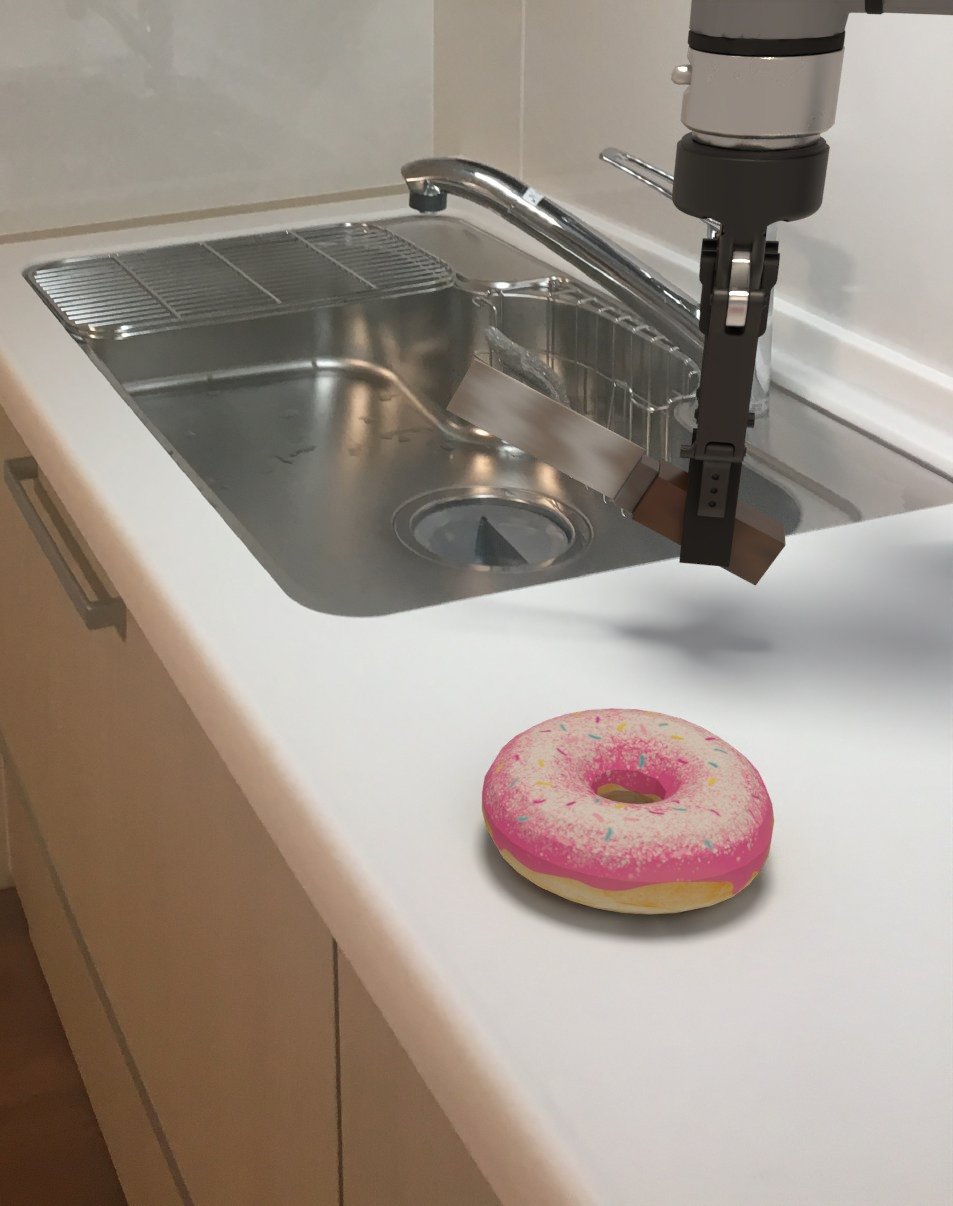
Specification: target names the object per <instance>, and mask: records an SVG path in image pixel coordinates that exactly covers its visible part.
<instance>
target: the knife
mask: <svg viewBox="0 0 953 1206" xmlns="http://www.w3.org/2000/svg"><path fill="white" fill-rule="evenodd" d="M445 410H446V411H447V412H450V413H451V414H453V415H455V416H457V417H459V418H460V419H463V420H464V421H465V422H468V423H470V424H472V425H473V426H476V427H478V428H479V429H481V430H483V431H485V432H487V433H489V434H490V435H493V436H494V437H496V438H498V439H499V440H501V441H503V442H505V443H507V444H508V445H511V446H512V447H514V448H517V449H519V450H520V451H522V452H524V453H526V454H528V455H529V456H531V457H532V458H535V459H537V460H538V461H540V462H542V463H544V464H546V465H548V466H550V467H552V468H554V469H555V470H557V471H559V472H561V473H563V474H565V475H567V476H568V477H570V478H571V479H574V480H576V481H578V482H580V483H582V484H583V485H585V486H587V487H589V488H591V489H592V490H594V491H596V492H598V493H600V494H602V495H604V496H605V497H608V498H609V499H610V500H613V505H615V507H618V508H619V509H622V510H623V511H625V512H627V513H629V514H631V515H630V516H631V517H630V519H631V520H632V521H634V522H636V523H638V524H640V525H641V526H643V527H645V528H647V529H649V530H651V531H653V532H655V533H656V534H658V535H660V536H661V537H664V538H666V539H667V540H670V541H671V542H673V543H676V544H677V545H678V546H681V541H682V532H683V523H684V514H685V505H686V496H687V487H688V478H689V473H688V471H686V470H684V469H682V468H680V467H679V466H676V465H675V464H673V463H671V462H669V461H667V460H665V459H664V458H660V459H659V460H656V459H655V458H653V457H651V456H649V455H647V454H645V453H646V451H647V450H646V448H644V447H643V446H641V445H638V444H637V443H635V442H633V441H631V440H629V439H627V438H626V437H624V436H622V435H621V434H618V433H616V432H614V431H613V430H610V429H609V428H607V427H605V426H603V425H601V424H599V423H598V422H595V421H594V420H593V419H591V418H588V417H586V416H584V415H583V414H581V413H579V412H577V411H575V410H573V409H572V408H570V407H568V406H566V405H564V404H562V403H560V402H558V401H557V400H555V399H553V398H551V397H549V396H547V395H545V394H544V393H542V392H540V391H538V390H536V389H534V388H532V387H530V386H528V385H527V384H525V383H523V382H522V381H519V380H517V379H515V378H514V377H512V376H510V375H508V374H507V373H505V372H502V371H500V370H499V369H497V368H495V367H493V366H491V365H489V364H488V363H486V362H484V361H482V360H480V359H478V358H477V357H474V359H473V361H472V362H471V364H470V366H469V367H468V369H467V371H466V373H465V375H464V376H463V378H462V380H461V381H460V384H459V385H458V387H457V389H456V391H455V392H454V394H453V396H452V397H451V399H450V400H449V402H448V404H447V405H446V408H445ZM786 545H787V544H786V528H785V524H784V523H783V522H782V521H779V520H777V519H775V518H774V517H772V516H770V515H767V514H766V513H764V512H762V511H760V510H759V509H757V508H755V507H754V506H751V505H750V504H748V503H745V502H744V501H742V500H740V499H738V500H737V508H736V516H735V524H734V531H733V539H732V547H731V555H730V563H729V567H722V566H719V567H720V568H722V569H723V570H725V571H727V572H729V573H731V574H732V575H734V576H736V577H738V578H740V579H741V580H744V581H746V582H747V583H750V584H751V585H753V586H755V587H756V586H757V585H758V584H759V582H760V581H761V579H762V578H763V576H764V575H765V574H766V572H767V571H768V570H769V569H770V567H771V566H772V564H773V563H774V562H775V561H776V559H777V558H778V556H779V555H780V554H781V552H782V551H783V550H784V548H785V547H786Z"/></svg>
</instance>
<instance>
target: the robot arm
mask: <svg viewBox="0 0 953 1206" xmlns="http://www.w3.org/2000/svg"><path fill="white" fill-rule="evenodd" d="M690 1H691V2H690V14H689V27H688V28H689V30H688V34H687V44H688V48H687V53H686V58H687V60H688V64H680V65H675V66H674V68H673V69H672V72H671V77H670V79H671V81H672V83H673V84H674V85H678V86H680V85H681V86H682V85H684V86H687V87H685V90H684V91H683V93H682V99H681V112H680V122H681V124H682V125H683V126H684V127H685V128H687V129H688V130H689V131H690V132H686V133H685V134H683V136H681V139H680V140H678V141H677V142H676V149H675V161H674V169H673V181H672V191H671V201H672V203H673V206H674V207H675V208H676V209H677V211H680V212H681V213H683V214H685V215H687V216H690V217H693V218H696V219H700V220H706V219H712V220H714V221H716V222H718V223H719V230H716V231H715V232H714V236H713V237H712V238H711V237H710V238H708V237H707V238H706V237H702V239H701V250H700V259H699V273H698V276H699V277H698V280H699V283H700V284H701V293H700V302H699V317H698V318H699V319H698V329H699V331H700V333H701V334H703V336H704V341H703V350H702V360H701V366H700V367H701V368H700V378H699V386H697V388H696V390H695V398H696V401H697V407H696V409H694V414H693V419H695V425H697V426H696V427H693V428H692V433H691V434H692V435H691V442H690V444H680V452H679V459H680V458H681V459H689V460H688V470H687V472H688V473H689V478H688V487H687V496H686V505H685V514H684V523H683V532H682V541H681V545H680V551H679V559H678V563H680V564H689V565H701V566H712V567H720V566H722V567H729V563H730V555H731V547H732V539H733V531H734V524H735V516H736V508H737V500H739V493H740V492H739V491H740V483H741V476H742V469H743V468H742V467H743V462H744V461H745V460H744V459H745V457H746V456H747V446H746V436H747V430H748V429H754V428H755V423H756V412H750V406H751V399H752V390H753V383H754V375H755V367H756V361H757V352H758V344H759V338H760V337H763V336H764V335H765V333H766V331H767V325H768V319H769V318H768V317H769V310H770V302H771V292H772V289H773V288H774V287H775V286H776V284H777V282H778V277H779V269H780V262H781V253H780V252H779V246H780V245H779V244H780V240H767V232H768V231H767V230H768V227H769V226H770V225H772V224H775V223H778V222H786V223H791V222H796V221H801V220H804V219H806V218H808V217H811V216H812V215H814V214H816V213H817V212H818V211H819V210H820V209H821V206H822V204H823V199H824V193H825V185H826V178H827V172H828V171H827V170H828V164H829V156H830V148H831V147H830V145H829V144H828V143H827V139H825V138H824V137H822V136H821V134H823V133H826V132H828V131H829V130H830V129H831V128H832V127H834V125H835V123H836V116H837V108H838V101H839V93H840V85H841V78H842V71H843V64H844V56H845V50H846V48H845V40H846V26H847V22H848V20H849V19H848V18H849V15H850V14H867V15H883V14H909V15H930V16H931V15H935V16H936V15H937V16H953V0H690Z"/></svg>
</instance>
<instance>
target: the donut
mask: <svg viewBox="0 0 953 1206" xmlns="http://www.w3.org/2000/svg"><path fill="white" fill-rule="evenodd" d="M773 808H774V807H773V802H772V799H771V797H770V794H769V791H768V789H767V787H766V784H765V782H764V780H763V778H762V776H761V774H760V772H759V770H758V769H757V768H756V767H755V766H754V764H753V763H752V762H751V761H750V760H749V759H748V758H747V756H746V755H744V754H743V753H741V751H739V750H738V749H736V748H735V747H734V746H732V745H731V744H730V743H729V742H727V741H726V740H724V739H722V738H721V737H719V736H718V735H716V734H715V733H713V732H711V731H710V730H708V729H706V728H705V727H702V726H701V725H698V724H696V723H693V722H691V721H688V720H686V719H683V718H682V717H678V716H673V715H669V714H666V713H662V712H657V711H651V710H643V709H636V708H616V707H615V708H598V709H596V708H595V709H586V710H580V711H574V712H570V713H564V714H562V715H559V716H555V717H553V718H550V719H546V720H544V721H542V722H540V723H538V724H536V725H534V726H531V727H530V728H528V729H525V730H524V731H523V732H520V733H517V734H516V735H515V736H514V737H513V738H511V740H509V741H508V742H507V743H506V744H505V745H504V746H503V747H501V749H500V750H499V752H498V753H497V755H496V756H495V758H494V760H493V762H492V763H491V765H490V767H489V768H488V770H487V772H486V774H485V775H484V779H483V784H482V790H481V813H482V817H483V821H484V825H485V829H486V830H487V832H488V834H489V836H490V838H491V839H492V841H493V844H494V845H495V847H496V848H497V850H498V852H499V854H500V855H501V857H502V859H503V860H505V862H507V864H509V866H510V867H512V869H514V871H515V872H516V873H518V874H519V875H521V876H522V877H524V878H525V879H526V880H528V881H530V882H531V883H532V884H534V885H536V886H537V887H538V888H540V889H541V888H542V889H543V890H545V891H547V892H550V893H552V894H555V895H556V896H559V897H560V898H563V899H565V900H568V901H570V902H572V903H577V904H579V905H584V906H585V907H590V908H593V909H597V910H603V911H609V912H614V913H615V912H616V913H620V914H634V915H667V914H678V913H682V912H688V911H692V910H697V909H702V908H707V907H712V906H714V905H717V904H719V903H722V902H724V901H726V900H729V899H732V898H734V897H735V896H736V895H738V894H739V893H741V892H742V891H743V890H744V889H745V888H747V887H748V886H749V885H750V884H751V883H752V882H753V880H754V879H755V878H756V877H757V876H758V874H759V873H760V872H761V870H762V868H763V866H764V865H765V863H766V861H767V860H768V858H769V856H770V850H771V844H772V838H773V833H774V832H773V831H774V825H775V816H774V809H773Z"/></svg>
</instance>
